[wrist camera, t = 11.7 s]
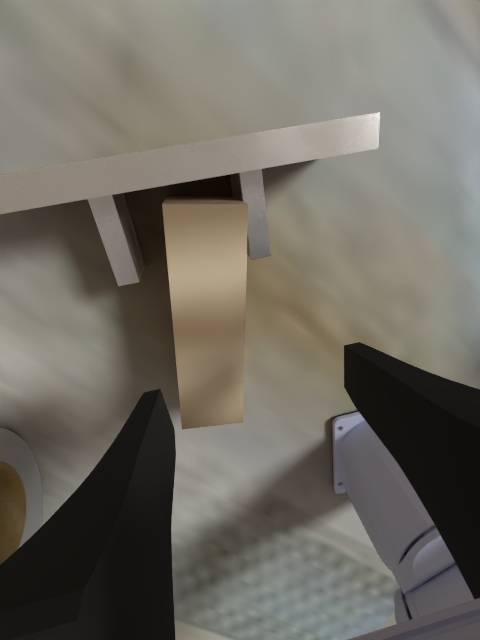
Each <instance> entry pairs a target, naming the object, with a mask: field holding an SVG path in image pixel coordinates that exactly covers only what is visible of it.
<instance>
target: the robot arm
mask: <svg viewBox="0 0 480 640" xmlns="http://www.w3.org/2000/svg"><path fill="white" fill-rule="evenodd" d="M344 387H345V389H346V391H347V393H348V394H349V396H350V398H351V400H352V402H353V403H354V405H355V407H356V408H357V410H358V411H359V412H355V413H351V414H347V415H343V416H339V417H336V418H335V419H334V420H333V422H332V431H333V484H334V491H335V493H336V494H341V493H345V492H346V493H347V495H348V497H349V499H350V500H351V502H352V504H353V506H354V508H355V510H356V512H357V514H358V516H359V518H360V520H361V522H362V524H363V526H364V528H365V530H366V531H367V533H368V535H369V537H370V539H371V541H372V543H373V545H374V547H375V549H376V551H377V553H378V555H379V556H380V558H381V559H382V561H383V562H384V563H385V565H386V566H387V567H388V568H389V569H390V570H391V571H392V573H393V575H394V576H395V578H396V580H397V582H398V584H399V586H400V588H399V589H397V590H396V592H395V593H394V604H395V619H396V623H397V624H396V625H393V626H389V627H386V628H383V629H380V630H377V631H374V632H371V633H367V634H364V635H361V636H358V637H355V638H352V639H348V640H480V389H476V388H473V387H470V386H467V385H464V384H460V383H457V382H454V381H451V380H448V379H445V378H443V377H440V376H437V375H435V374H432V373H429V372H427V371H424V370H422V369H419V368H417V367H414V366H412V365H410V364H407V363H405V362H403V361H401V360H398V359H396V358H394V357H392V356H389V355H387V354H385V353H383V352H381V351H378V350H376V349H374V348H372V347H370V346H367V345H365V344H362V343H360V342H358V343H353V344H349V345H345V346H344ZM175 458H176V451H175V432H174V427H173V424H172V421H171V418H170V415H169V412H168V409H167V407H166V404H165V401H164V398H163V395H162V392H161V389H158V390H153V391H149V392H145V393H143V395H142V396H141V398H140V400H139V401H138V403H137V405H136V406H135V408H134V410H133V411H132V413H131V415H130V416H129V418H128V420H127V421H126V423H125V425H124V426H123V428H122V429H121V431H120V432H119V434H118V436H117V437H116V439H115V440H114V442H113V443H112V445H111V446H110V447H109V449H108V450H107V452H106V453H105V454H104V456H103V457H102V459H101V460H100V461H99V463H98V464H97V465H96V467H95V468H94V469H93V471H92V472H91V473H90V474H89V476H88V477H87V478H86V479H85V480H84V482H83V483H82V484H81V485H80V486H79V487H78V489H77V490H76V491H75V492H74V493H73V494H72V495H71V496H70V497H69V498H68V500H67V501H66V502H65V503H64V504H63V505H62V506H61V507H60V508H59V509H58V510H57V511H56V512H55V513H54V514H53V516H52V517H51V518H50V519H49V520H48V521H47V522H46V523H45V524H44V525H43V526H42V527H41V528H40V529H39V530H38V531H37V532H35V533H34V534H33V535H32V536H31V537H30V538H29V539H28V540H27V541H26V542H25V543H24V544H23V545H22V546H21V547H20V548H18V549H17V550H16V551H15V552H14V553H13V554H12V555H11V556H10V557H8V558H7V559H6V560H5V561H4V562H3V563H2V564H0V640H175V624H174V605H173V581H172V549H171V516H172V502H173V488H174V473H175Z"/></svg>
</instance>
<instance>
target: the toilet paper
mask: <svg viewBox="0 0 480 640" xmlns="http://www.w3.org/2000/svg"><path fill="white" fill-rule="evenodd" d="M42 518H43V488H42V481H41V475H40V471H39V467H38V464H37V462H36V459H35V457H34V455H33V453H32V452H31V450H30V448H29V447H28V445H27V444H26V442H25V441H24V440H23V439H22V438H21V437H20V436H18V435H17V434H16V433H14V432H12V431H10V430H7V429H3V428H0V564H2V563H3V562H4V561H5V560H6V559H7V558H8V557H10V556H11V555H12V554H13V553H14V552H15V551H16V550H17V549H18V548H20V547H21V546H22V545H23V544H24V543H25V542H26V541H27V540H28V539H29V538H30V537H31V536H32V535H33V534H34V533H35V532H37V531H38V530H39V529H40V528H41V526H42Z"/></svg>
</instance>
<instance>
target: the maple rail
mask: <svg viewBox="0 0 480 640" xmlns="http://www.w3.org/2000/svg"><path fill="white" fill-rule="evenodd" d="M162 208H163V219H164V231H165V242H166V253H167V264H168V276H169V287H170V298H171V310H172V321H173V332H174V343H175V355H176V366H177V377H178V389H179V400H180V411H181V422H182V429H189V428H197V427H206V426H215V425H224V424H232V423H241V422H243V397H244V355H245V312H246V270H247V228H248V204H247V203H245V202H243V201H241V200H239V199H237V198H235V197H233V196H166V198H165V200H164V202H163V204H162Z"/></svg>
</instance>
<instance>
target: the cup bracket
mask: <svg viewBox="0 0 480 640" xmlns="http://www.w3.org/2000/svg"><path fill="white" fill-rule="evenodd" d="M379 124H380V112H379V113H373V114H367V115H361V116H354V117H348V118H342V119H336V120H330V121H324V122H318V123H312V124H305V125H299V126H293V127H287V128H281V129H275V130H269V131H262V132H256V133H250V134H244V135H238V136H232V137H226V138H220V139H213V140H207V141H201V142H195V143H189V144H183V145H177V146H170V147H164V148H158V149H152V150H146V151H140V152H134V153H128V154H121V155H115V156H109V157H103V158H97V159H91V160H85V161H79V162H72V163H66V164H60V165H54V166H48V167H42V168H36V169H29V170H23V171H17V172H11V173H5V174H0V214H5V213H10V212H16V211H22V210H28V209H33V208H39V207H45V206H51V205H56V204H62V203H68V202H74V201H79V200H85V199H88V202H89V205H90V207H91V210H92V213H93V216H94V219H95V222H96V224H97V227H98V230H99V233H100V236H101V239H102V241H103V244H104V247H105V250H106V253H107V256H108V258H109V261H110V264H111V267H112V270H113V273H114V275H115V278H116V281H117V284H118V286H123V285H128V284H133V283H138V282H140V279H141V276H142V274H143V271H144V268H145V261H144V258H143V255H142V251H141V248H140V245H139V241H138V238H137V235H136V231H135V228H134V225H133V221H132V218H131V215H130V211H129V208H128V205H127V201H126V198H125V195H124V193H125V192H131V191H137V190H143V189H148V188H154V187H160V186H166V185H171V184H177V183H183V182H189V181H194V180H200V179H206V178H212V177H217V176H223V175H229V174H230V178H231V185H232V192H233V197H235V198H237V199H239V200H241V201H243V202H245V203H247V204H248V228H247V255H248V256H249V258H250V259H251V260H253V259H258V258H263V257H268V256H271V252H270V243H269V233H268V224H267V214H266V205H265V196H264V186H263V177H262V169H263V168H269V167H275V166H281V165H286V164H292V163H298V162H304V161H309V160H315V159H321V158H327V157H332V156H338V155H344V154H350V153H355V152H361V151H367V150H373V149H378V145H379Z"/></svg>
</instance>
